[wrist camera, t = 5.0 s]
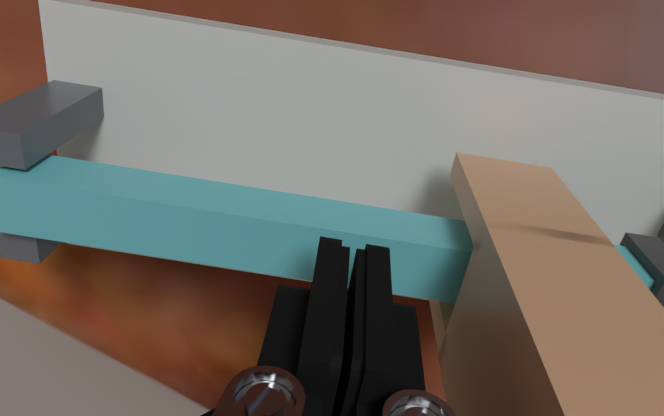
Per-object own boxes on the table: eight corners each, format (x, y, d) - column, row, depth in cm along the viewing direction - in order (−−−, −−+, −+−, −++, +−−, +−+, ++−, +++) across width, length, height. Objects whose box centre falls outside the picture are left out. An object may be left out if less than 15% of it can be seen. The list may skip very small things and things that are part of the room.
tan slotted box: (551, 167, 16) (796, 473, 7) (507, 281, 18) (650, 631, 9) (456, 152, 16) (574, 440, 7) (423, 268, 18) (480, 606, 9)
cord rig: (779, 112, 17) (1018, 214, 11) (657, 321, 21) (777, 480, 15) (55, -6, 16) (-132, 29, 10) (80, 230, 21) (-42, 355, 15)
